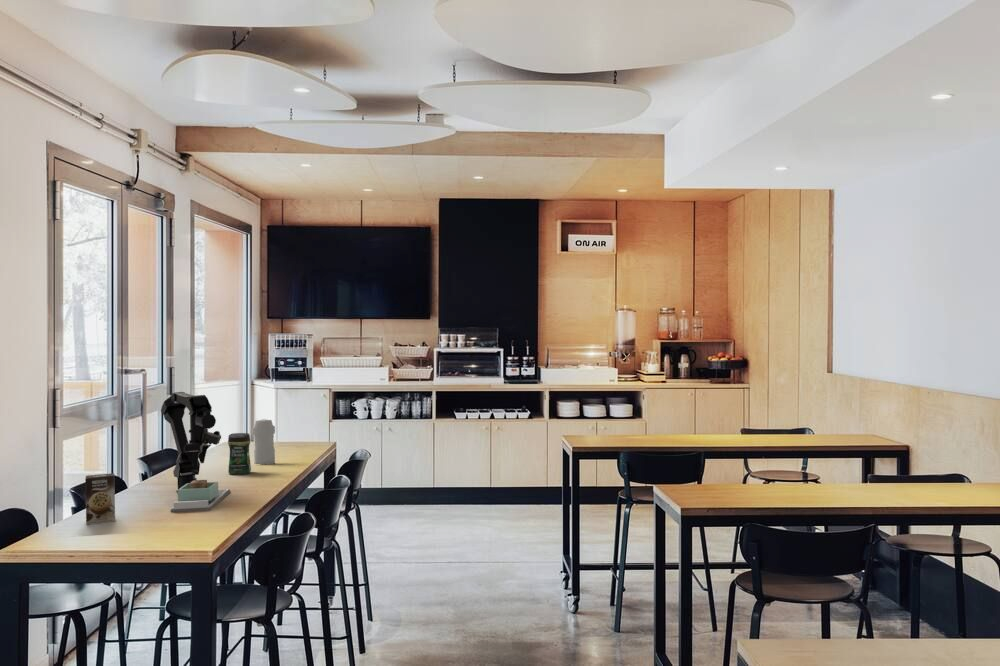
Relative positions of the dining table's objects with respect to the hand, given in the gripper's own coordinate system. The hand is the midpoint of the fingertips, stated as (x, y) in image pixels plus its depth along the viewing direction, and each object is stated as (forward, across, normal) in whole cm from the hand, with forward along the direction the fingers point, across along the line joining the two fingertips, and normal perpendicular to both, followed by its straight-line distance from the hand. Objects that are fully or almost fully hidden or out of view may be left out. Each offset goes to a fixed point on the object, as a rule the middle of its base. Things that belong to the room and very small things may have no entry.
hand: (199, 465), depth 300 cm
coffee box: (+12, -35, +24) cm, 44 cm away
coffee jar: (+12, +43, -6) cm, 45 cm away
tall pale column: (+12, +65, -13) cm, 67 cm away
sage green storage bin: (+11, -16, -4) cm, 20 cm away
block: (+8, -16, -4) cm, 18 cm away
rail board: (+12, -12, -4) cm, 17 cm away
